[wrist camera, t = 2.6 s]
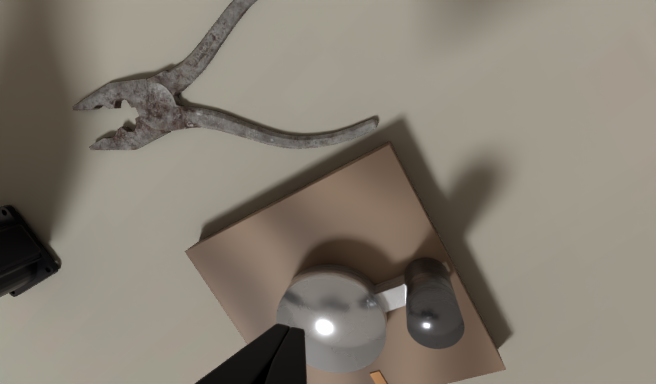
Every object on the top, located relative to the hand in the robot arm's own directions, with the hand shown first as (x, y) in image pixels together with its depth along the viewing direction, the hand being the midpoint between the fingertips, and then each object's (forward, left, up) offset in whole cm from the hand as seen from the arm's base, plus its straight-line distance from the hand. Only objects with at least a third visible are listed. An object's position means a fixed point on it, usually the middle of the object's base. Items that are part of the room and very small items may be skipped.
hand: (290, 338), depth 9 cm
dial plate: (-3, -5, -11) cm, 12 cm away
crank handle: (-1, -5, -9) cm, 10 cm away
